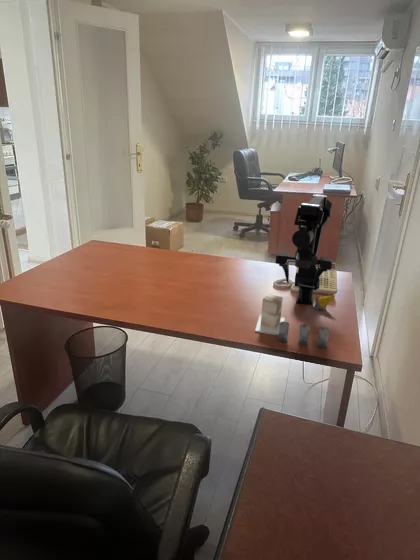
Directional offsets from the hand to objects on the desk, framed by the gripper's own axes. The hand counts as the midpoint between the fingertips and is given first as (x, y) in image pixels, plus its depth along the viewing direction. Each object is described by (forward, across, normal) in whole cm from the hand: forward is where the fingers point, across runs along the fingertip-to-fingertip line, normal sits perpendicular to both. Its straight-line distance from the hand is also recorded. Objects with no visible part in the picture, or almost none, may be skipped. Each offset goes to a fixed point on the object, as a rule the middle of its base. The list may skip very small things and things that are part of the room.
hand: (300, 283), depth 140 cm
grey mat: (+14, -8, -9) cm, 18 cm away
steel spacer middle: (+14, +3, -17) cm, 22 cm away
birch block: (+13, -8, -9) cm, 18 cm away
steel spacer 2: (+14, +9, -17) cm, 24 cm away
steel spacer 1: (+14, -3, -17) cm, 22 cm away
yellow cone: (+13, +9, +11) cm, 19 cm away
